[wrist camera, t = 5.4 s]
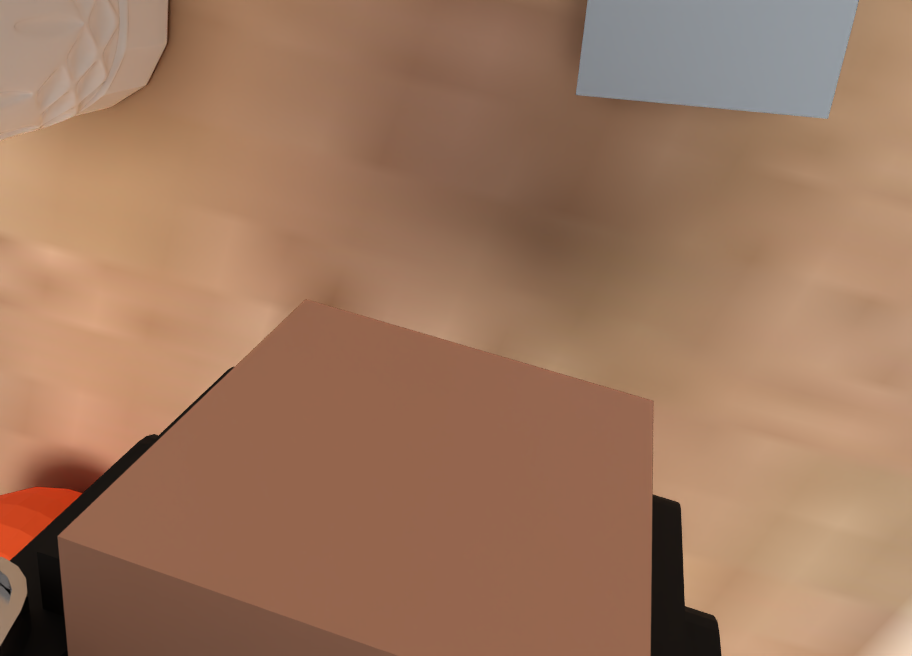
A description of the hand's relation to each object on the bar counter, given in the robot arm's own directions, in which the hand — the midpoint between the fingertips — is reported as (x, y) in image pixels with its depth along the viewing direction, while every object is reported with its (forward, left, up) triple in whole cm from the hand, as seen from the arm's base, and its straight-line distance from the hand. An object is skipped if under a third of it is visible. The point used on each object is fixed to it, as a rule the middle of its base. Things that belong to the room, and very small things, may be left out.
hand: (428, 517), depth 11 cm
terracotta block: (0, 0, -1) cm, 1 cm away
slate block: (-8, +2, -13) cm, 15 cm away
